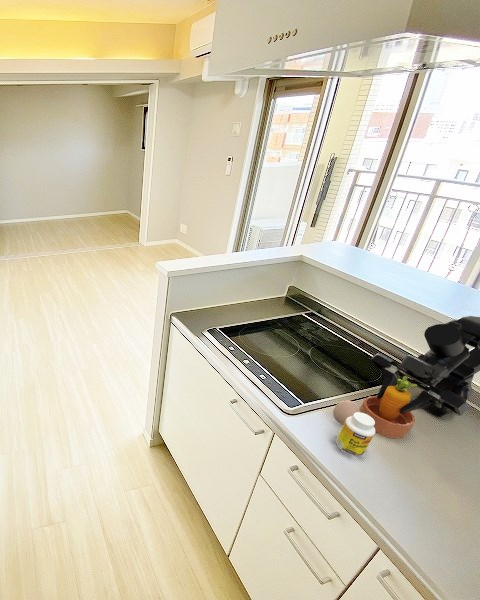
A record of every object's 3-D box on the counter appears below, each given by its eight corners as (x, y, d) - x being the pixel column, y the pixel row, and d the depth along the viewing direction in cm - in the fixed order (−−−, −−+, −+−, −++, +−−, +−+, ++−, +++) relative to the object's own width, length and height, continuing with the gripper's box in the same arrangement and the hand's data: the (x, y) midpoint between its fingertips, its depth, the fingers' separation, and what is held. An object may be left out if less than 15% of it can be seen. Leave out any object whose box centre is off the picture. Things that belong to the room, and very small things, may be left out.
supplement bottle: (340, 455, 79) (355, 425, 74) (331, 436, 84) (345, 407, 79) (367, 460, 78) (384, 430, 73) (357, 440, 83) (372, 411, 78)
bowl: (373, 405, 92) (380, 392, 90) (416, 432, 84) (424, 418, 82) (348, 415, 90) (355, 402, 87) (389, 444, 81) (398, 430, 79)
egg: (327, 413, 91) (335, 393, 87) (349, 417, 89) (359, 397, 86) (333, 428, 86) (342, 407, 83) (357, 432, 85) (368, 412, 81)
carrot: (378, 412, 89) (401, 369, 82) (399, 426, 85) (425, 382, 78) (366, 418, 88) (387, 375, 81) (387, 432, 84) (411, 388, 77)
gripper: (389, 327, 85) (342, 370, 87) (487, 372, 69) (426, 423, 71) (399, 345, 90) (355, 385, 93) (491, 391, 74) (435, 438, 77)
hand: (388, 405), depth 83 cm, fingers closed on carrot, 5 cm apart
